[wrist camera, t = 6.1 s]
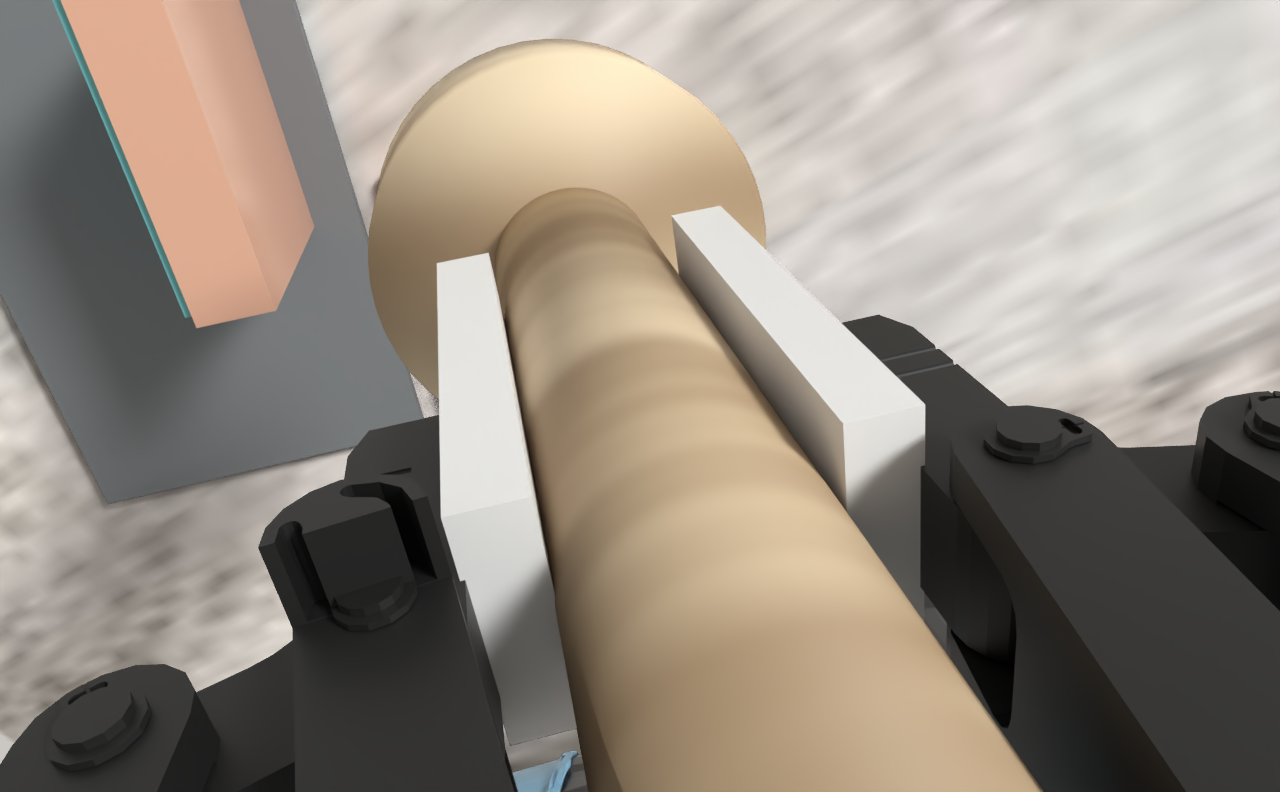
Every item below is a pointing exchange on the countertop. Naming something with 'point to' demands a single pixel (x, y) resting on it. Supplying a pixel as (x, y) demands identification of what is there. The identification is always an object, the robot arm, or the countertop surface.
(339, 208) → the mat
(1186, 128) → the countertop surface
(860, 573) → the masher
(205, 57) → the tile
